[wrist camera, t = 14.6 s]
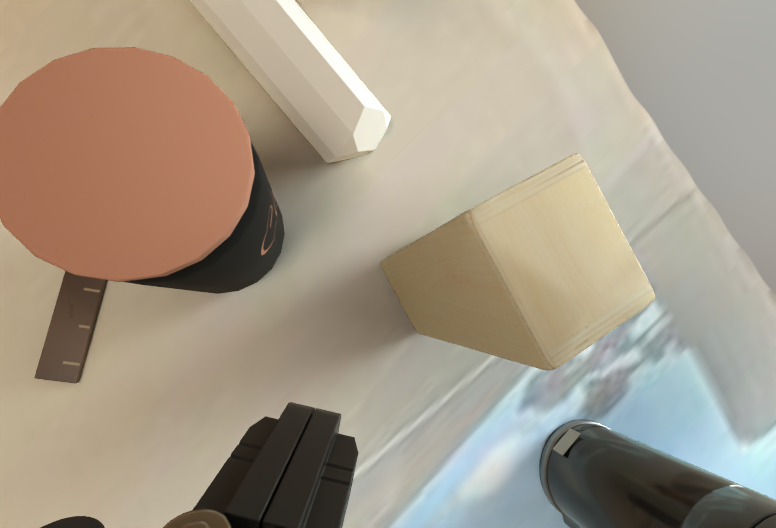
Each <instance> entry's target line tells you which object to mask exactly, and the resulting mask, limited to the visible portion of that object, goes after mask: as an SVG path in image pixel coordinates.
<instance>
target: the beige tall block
mask: <svg viewBox="0 0 776 528" xmlns="http://www.w3.org/2000/svg"><path fill="white" fill-rule="evenodd" d="M381 266H382V268H383V270H384V272H385V274H386V276H387V278H388V280H389V282H390V284H391V286H392V287H393V289H394V291H395V293H396V295H397V297H398V299H399V300H400V302H401V304H402V306H403V308H404V310H405V312H406V313H407V315H408V317H409V319H410V321H411V323H412V324H413V326H414V328H415V330H416V331H417V332H418V333H419V334H422V335H425V336H429V337H432V338H436V339H439V340H443V341H446V342H450V343H453V344H457V345H460V346H464V347H468V348H471V349H474V350H478V351H481V352H484V353H488V354H491V355H495V356H498V357H501V358H505V359H508V360H511V361H515V362H519V363H522V364H525V365H528V366H532V367H536V368H539V369H543V370H554V369H556V368H557V367H559V366H561V365H563V364H564V363H566V362H567V361H569V360H570V359H572V358H573V357H575V356H576V355H577V354H579V353H580V352H582V351H583V350H585V349H586V348H587V347H589V346H590V345H592V344H593V343H595V342H596V341H598V340H599V339H601V338H602V337H603V336H605V335H606V334H608V333H609V332H611V331H612V330H614V329H615V328H616V327H618V326H619V325H621V324H622V323H624V322H625V321H627V320H628V319H630V318H631V317H632V316H634V315H635V314H637V313H638V312H640V311H641V310H643V309H644V308H645V307H647V306H648V305H649V304H650V303H651V302H652V301H653V300H654V299H655V294H654V291H653V289H652V286H651V284H650V282H649V281H648V279H647V277H646V275H645V273H644V271H643V269H642V268H641V266H640V264H639V262H638V260H637V258H636V256H635V255H634V253H633V251H632V249H631V247H630V245H629V243H628V241H627V240H626V238H625V236H624V234H623V232H622V230H621V228H620V226H619V225H618V223H617V221H616V219H615V217H614V215H613V213H612V211H611V210H610V208H609V206H608V204H607V202H606V200H605V198H604V196H603V194H602V193H601V191H600V189H599V187H598V185H597V183H596V181H595V179H594V177H593V176H592V174H591V172H590V170H589V168H588V166H587V164H586V163H585V161H584V160H583V158H582V157H581V156H580V155H579V154H573V155H571V156H569V157H567V158H565V159H564V160H562V161H560V162H558V163H556V164H554V165H552V166H550V167H549V168H547V169H545V170H543V171H541V172H539V173H537V174H535V175H534V176H532V177H530V178H528V179H526V180H524V181H522V182H521V183H519V184H517V185H515V186H513V187H511V188H509V189H507V190H506V191H504V192H502V193H500V194H498V195H496V196H494V197H493V198H491V199H489V200H487V201H485V202H483V203H481V204H480V205H478V206H476V207H474V208H472V209H470V210H468V211H466V212H464V213H462V214H460V215H459V216H457V217H455V218H454V219H452V220H450V221H449V222H447V223H445V224H444V225H442V226H440V227H439V228H437V229H435V230H434V231H432V232H430V233H429V234H427V235H425V236H424V237H422V238H420V239H419V240H417V241H415V242H414V243H412V244H410V245H409V246H407V247H405V248H404V249H402V250H400V251H399V252H397V253H395V254H393V255H392V256H390V257H388V258H387V259H385V260H383V261H382V262H381Z"/></svg>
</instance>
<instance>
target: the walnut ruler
mask: <svg viewBox="0 0 776 528" xmlns="http://www.w3.org/2000/svg"><path fill="white" fill-rule="evenodd" d="M106 281H107V280H104V279H98V278H91V277H85V276H78V275H74V274H72V273H69V272H67V271H65V275H64V278H63V282H62V285H61V289H60V292H59V295H58V299H57V302H56V306H55V309H54V313H53V316H52V319H51V323H50V326H49V330H48V333H47V337H46V340H45V344H44V347H43V350H42V354H41V357H40V361H39V364H38V368H37V371H36V375H35V378H37V379H45V380H53V381H61V382H69V383H78V382H79V379H80V375H81V372H82V368H83V364H84V361H85V357H86V354H87V350H88V346H89V343H90V339H91V335H92V332H93V328H94V324H95V321H96V317H97V313H98V310H99V306H100V302H101V299H102V295H103V292H104V288H105V284H106Z"/></svg>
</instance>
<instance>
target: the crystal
mask: <svg viewBox="0 0 776 528" xmlns="http://www.w3.org/2000/svg"><path fill="white" fill-rule="evenodd" d="M190 2H191V3H192V4H193V5H194V6H195V8H196V9H197V10H198V11H199V12H200V13H201V15H202V16H203V17H204V18H205V19H206V21H207V22H208V23H209V24H210V25H211V27H212V28H213V29H214V30H215V31H216V32H217V34H218V35H219V36H220V37H221V38H222V40H223V41H224V42H225V43H226V44H227V45H228V47H229V48H230V49H231V50H232V51H233V53H234V54H235V55H236V56H237V57H238V58H239V60H240V61H241V62H242V63H243V64H244V66H245V67H246V68H247V69H248V70H249V71H250V73H251V74H252V75H253V76H254V77H255V79H256V80H257V81H258V82H259V83H260V85H261V86H262V87H263V88H264V89H265V90H266V92H267V93H268V94H269V95H270V96H271V98H272V99H273V100H274V101H275V102H276V103H277V105H278V106H279V107H280V108H281V109H282V111H283V112H284V113H285V114H286V115H287V116H288V118H289V119H290V120H291V121H292V122H293V124H294V125H295V126H296V127H297V128H298V130H299V131H300V132H301V133H302V134H303V135H304V137H305V138H306V139H307V140H308V141H309V143H310V144H311V145H312V146H313V147H314V148H315V150H316V151H317V152H318V153H319V154H320V156H321V157H322V158H323V159H324V160H325V161H326V163H330V162H336V161H341V160H347V159H351V158H355V157H358V156H362V155H365V154H369V153H370V152H372V151H373V150H375V148H376V147H377V145H378V143H379V142H380V140H381V139H382V137H383V135H384V134H385V132H386V130H387V128H388V125H389V122H390V119H391V116H390V115H389V113H388V112H387V111H386V110H385V109H384V107H383V106H382V105H381V104H380V103H379V101H378V100H377V99H376V98H375V97H374V95H373V94H372V93H371V92H370V91H369V89H368V88H367V87H366V86H365V85H364V83H363V82H362V81H361V80H360V79H359V77H358V76H357V75H356V74H355V73H354V71H353V70H352V69H351V68H350V66H349V65H348V64H347V63H346V62H345V60H344V59H343V58H342V57H341V56H340V54H339V53H338V52H337V51H336V50H335V48H334V47H333V46H332V45H331V44H330V42H329V41H328V40H327V39H326V38H325V36H324V35H323V34H322V33H321V32H320V30H319V29H318V28H317V27H316V26H315V24H314V23H313V22H312V21H311V20H310V18H309V17H308V16H307V15H306V14H305V12H304V11H303V10H302V9H301V7H300V6H299V5H298V4H297V3H296V1H295V0H190Z"/></svg>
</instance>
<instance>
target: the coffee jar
mask: <svg viewBox="0 0 776 528" xmlns="http://www.w3.org/2000/svg"><path fill="white" fill-rule="evenodd" d="M0 219H1V221H2V223H3V225H4V227H5V228H6V229H8V230H9V231H10V232H11V233H12V234H13V235H14V236H15V237H16V238H17V239H18V240H19V241H20V242H21V243H22V244H23V245H24V246H25V247H26V248H27V249H28V250H29V251H30V252H31V253H32V254H34V255H35V256H36V257H38V258H40V259H42V260H44V261H46V262H49V263H51V264H53V265H55V266H57V267H59V268H61V269H63V270H65V271H67V272H69V273H72V274H74V275H78V276H85V277H91V278H98V279H104V280H111V281H117V282H120V281H122V282H128V283H135V284H141V285H149V286H157V287H166V288H175V289H183V290H192V291H201V292H209V293H225V292H232V291H239V290H241V289H243V288H245V287H247V286H250V285H252V284H254V283H256V282H258V281H259V280H260V279H261V278H262V277H263V276H264V275H265V274H266V273H267V272H268V271H270V270H271V269H272V267H273V265H274V263H275V262H276V260H277V258H278V256H279V255H280V253H281V249H282V244H283V239H284V227H283V220H282V215H281V212H280V210H279V207H278V205H277V202H276V200H275V197H274V194H273V192H272V189H271V187H270V184H269V182H268V179H267V177H266V174H265V172H264V169H263V167H262V164H261V162H260V159H259V157H258V155H257V153H256V151H255V149H254V147H253V145H252V143H251V141H250V136H249V133H248V131H247V129H246V127H245V125H244V123H243V121H242V119H241V117H240V115H239V113H238V111H237V109H236V107H235V105H234V103H233V102H232V101H231V100H230V99H229V98H228V97H227V96H226V95H225V94H224V93H223V92H222V91H221V89H220V88H219V87H218V86H217V85H216V84H215V83H214V82H213V81H212V80H211V79H210V78H209V77H208V76H206V75H205V74H203V73H201V72H199V71H197V70H196V69H194V68H192V67H190V66H189V65H187V64H185V63H183V62H181V61H180V60H178V59H176V58H174V57H172V56H168V55H164V54H159V53H155V52H151V51H147V50H143V49H139V48H135V47H125V48H92V49H89V50H86V51H82V52H79V53H76V54H73V55H69V56H66V57H63V58H59V59H56V60H53V61H52V62H50V63H49V64H47V65H46V66H44V67H43V68H41V69H40V70H38V71H37V72H35V73H34V74H32V75H31V76H29V77H28V78H26V79H25V80H23V81H22V82H20V83H19V84H18V86H17V87H16V88H15V89H14V91H13V92H12V93H11V94H10V96H9V97H8V98H7V100H6V101H5V102H4V103H3V105H2V106H1V107H0Z"/></svg>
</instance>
